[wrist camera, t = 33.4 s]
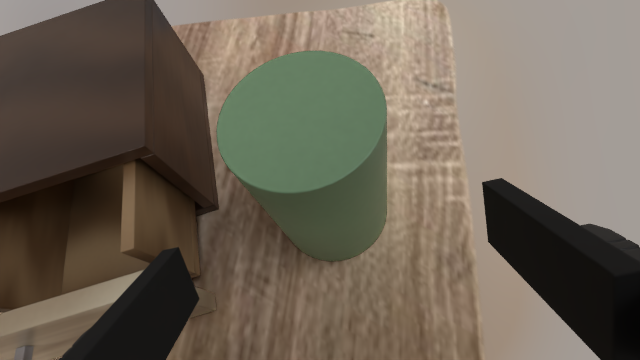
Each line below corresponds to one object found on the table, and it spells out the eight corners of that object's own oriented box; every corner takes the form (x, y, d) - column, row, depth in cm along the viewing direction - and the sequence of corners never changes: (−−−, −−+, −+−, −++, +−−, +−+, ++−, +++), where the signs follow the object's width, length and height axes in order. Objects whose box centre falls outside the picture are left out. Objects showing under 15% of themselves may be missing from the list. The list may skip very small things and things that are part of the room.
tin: (367, 152, 28) (355, 31, 17) (402, 242, 24) (415, 158, 14) (275, 180, 28) (208, 79, 18) (295, 275, 24) (225, 217, 14)
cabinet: (219, 209, 28) (144, 145, 19) (64, 257, 28) (-76, 216, 20) (203, 74, 35) (145, -14, 27) (81, 115, 36) (-16, 40, 27)
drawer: (225, 399, 21) (144, 423, 14) (35, 453, 21) (-135, 503, 14) (200, 141, 30) (145, 79, 23) (69, 183, 31) (-23, 134, 24)
